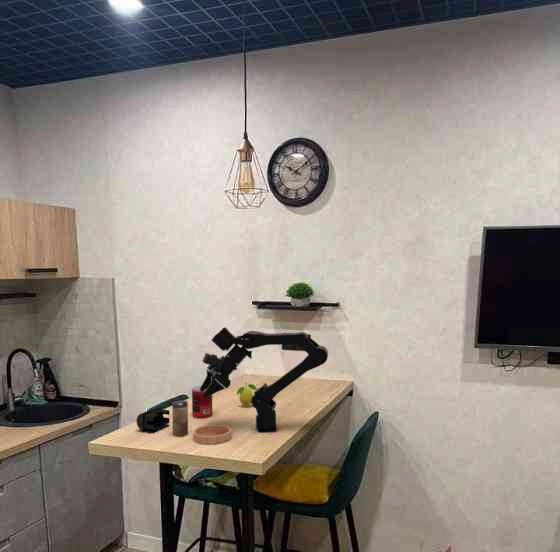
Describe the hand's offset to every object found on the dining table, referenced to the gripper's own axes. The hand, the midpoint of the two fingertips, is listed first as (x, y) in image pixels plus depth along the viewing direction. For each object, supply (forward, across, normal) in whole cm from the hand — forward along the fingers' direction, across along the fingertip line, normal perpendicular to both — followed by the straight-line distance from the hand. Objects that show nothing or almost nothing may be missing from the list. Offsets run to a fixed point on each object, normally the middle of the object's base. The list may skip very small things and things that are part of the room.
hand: (201, 393), depth 167 cm
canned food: (+8, -20, +11) cm, 24 cm away
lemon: (-6, -27, +25) cm, 37 cm away
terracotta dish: (+8, +7, +11) cm, 16 cm away
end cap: (+21, -9, -2) cm, 23 cm away
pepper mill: (+15, 0, +4) cm, 15 cm away
